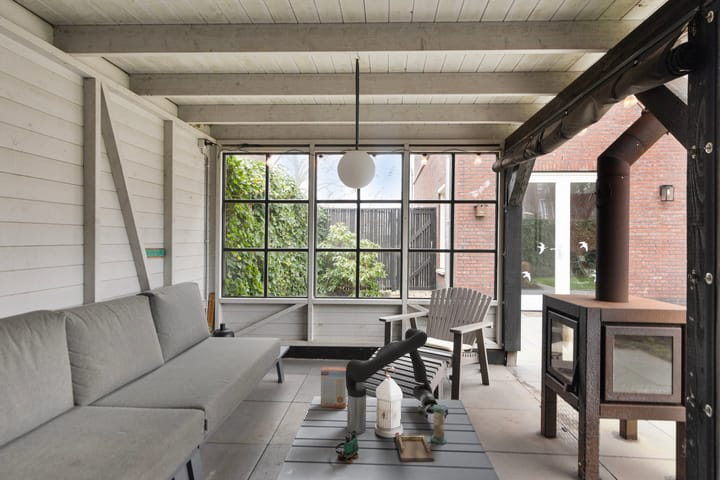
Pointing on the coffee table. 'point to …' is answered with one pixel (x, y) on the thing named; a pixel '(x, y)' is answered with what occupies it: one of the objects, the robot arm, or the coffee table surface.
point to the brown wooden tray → (414, 448)
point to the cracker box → (333, 387)
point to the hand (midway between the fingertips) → (436, 416)
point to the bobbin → (438, 425)
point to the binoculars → (349, 448)
